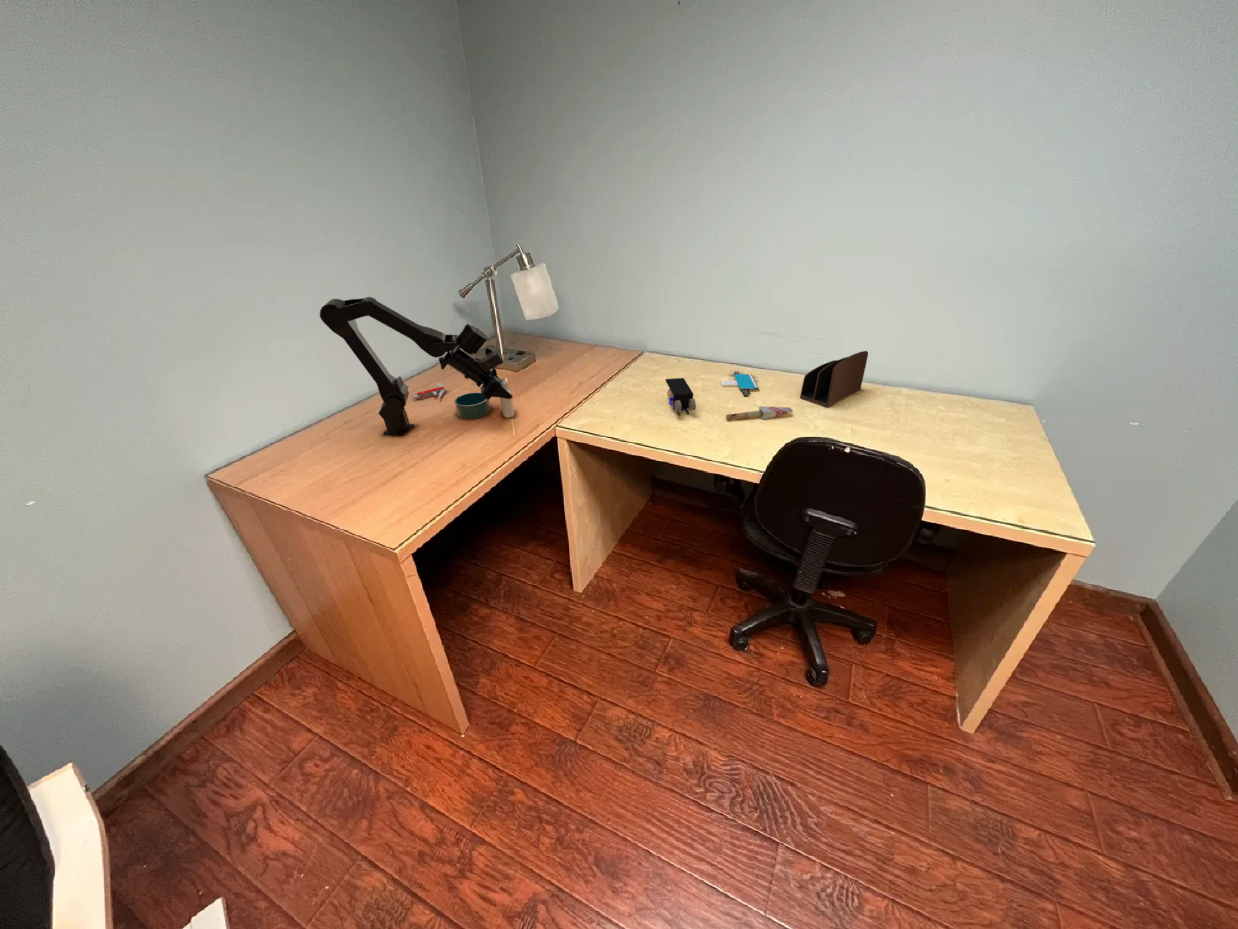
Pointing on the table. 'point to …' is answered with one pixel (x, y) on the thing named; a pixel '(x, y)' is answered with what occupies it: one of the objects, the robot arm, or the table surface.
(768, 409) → the paintbrush
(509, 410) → the eye dropper bottle
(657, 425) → the table surface
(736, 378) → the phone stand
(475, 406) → the teal bowl
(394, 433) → the robot arm
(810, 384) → the letter holder
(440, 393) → the swiss army knife
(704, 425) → the table surface
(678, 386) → the black block with wheels
